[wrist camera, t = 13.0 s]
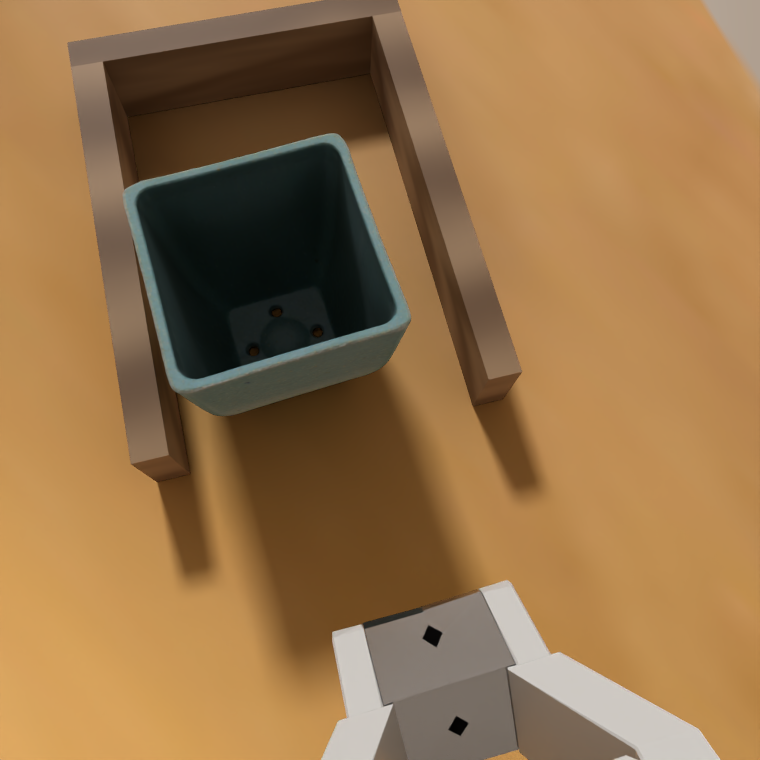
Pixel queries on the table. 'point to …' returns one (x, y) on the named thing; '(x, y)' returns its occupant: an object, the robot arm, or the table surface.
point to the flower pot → (265, 275)
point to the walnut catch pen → (247, 77)
